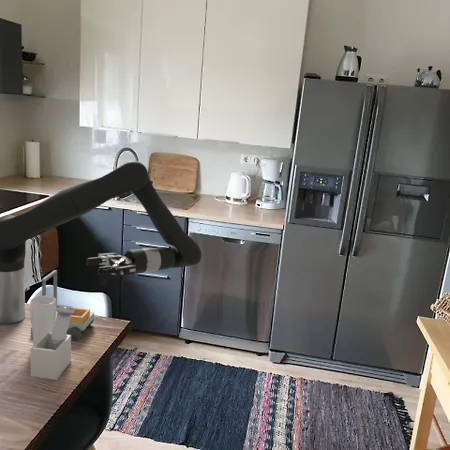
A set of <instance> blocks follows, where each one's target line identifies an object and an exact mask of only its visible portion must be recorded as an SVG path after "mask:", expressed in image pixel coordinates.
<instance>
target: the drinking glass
mask: <svg viewBox="0 0 450 450" xmlns="http://www.w3.org/2000/svg"><path fill="white" fill-rule="evenodd" d="M29 304H30V306H29V307H30V309H29V310H30V312H29V313H30V323H31V327H32V334H33V336H32V342H33V343H32V346H33V345H34V344H35V343H36V342H37V341H38V340H39V339H40V338H41V337H42V336H43V335H44V334H45V333H47V332H49V333H53V329H54V325H55V320H56V299H55V298H54V297H53V295H52V296H51V295H46V296H42V295H40V296H35V297H33V298H32V299H30V303H29Z"/></svg>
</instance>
